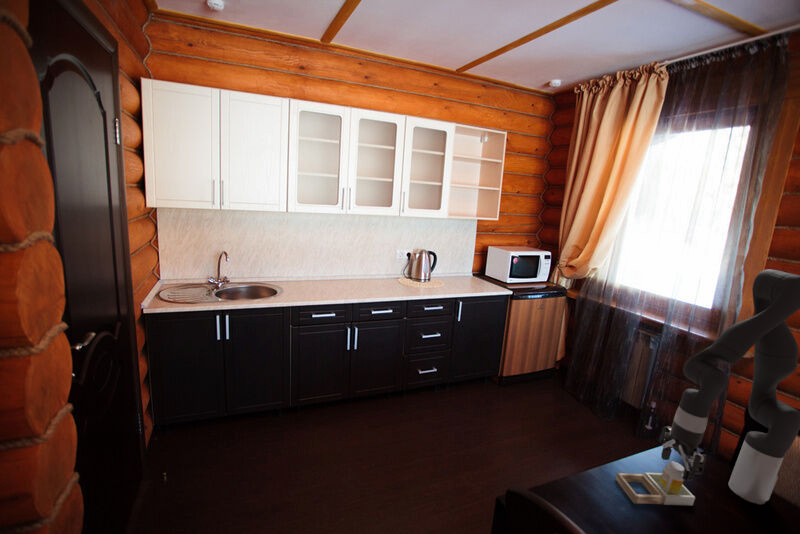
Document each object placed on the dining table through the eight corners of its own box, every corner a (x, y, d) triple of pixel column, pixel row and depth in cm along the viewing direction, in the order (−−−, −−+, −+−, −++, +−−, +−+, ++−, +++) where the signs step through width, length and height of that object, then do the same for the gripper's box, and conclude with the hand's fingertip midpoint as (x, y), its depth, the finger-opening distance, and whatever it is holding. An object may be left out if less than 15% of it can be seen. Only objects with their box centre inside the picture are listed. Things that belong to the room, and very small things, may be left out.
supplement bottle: (655, 489, 119) (663, 463, 117) (661, 481, 123) (669, 456, 120) (675, 501, 115) (684, 475, 113) (680, 493, 119) (689, 467, 116)
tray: (669, 481, 124) (671, 473, 124) (692, 505, 115) (695, 497, 114) (642, 480, 123) (644, 472, 123) (663, 504, 114) (666, 496, 114)
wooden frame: (641, 480, 123) (643, 474, 123) (662, 504, 114) (664, 497, 114) (615, 479, 122) (617, 472, 122) (634, 503, 114) (636, 496, 113)
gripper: (721, 440, 107) (705, 488, 111) (682, 409, 121) (669, 453, 124) (697, 439, 106) (682, 487, 110) (660, 408, 120) (647, 452, 124)
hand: (675, 469), depth 117 cm, fingers open, 8 cm apart
